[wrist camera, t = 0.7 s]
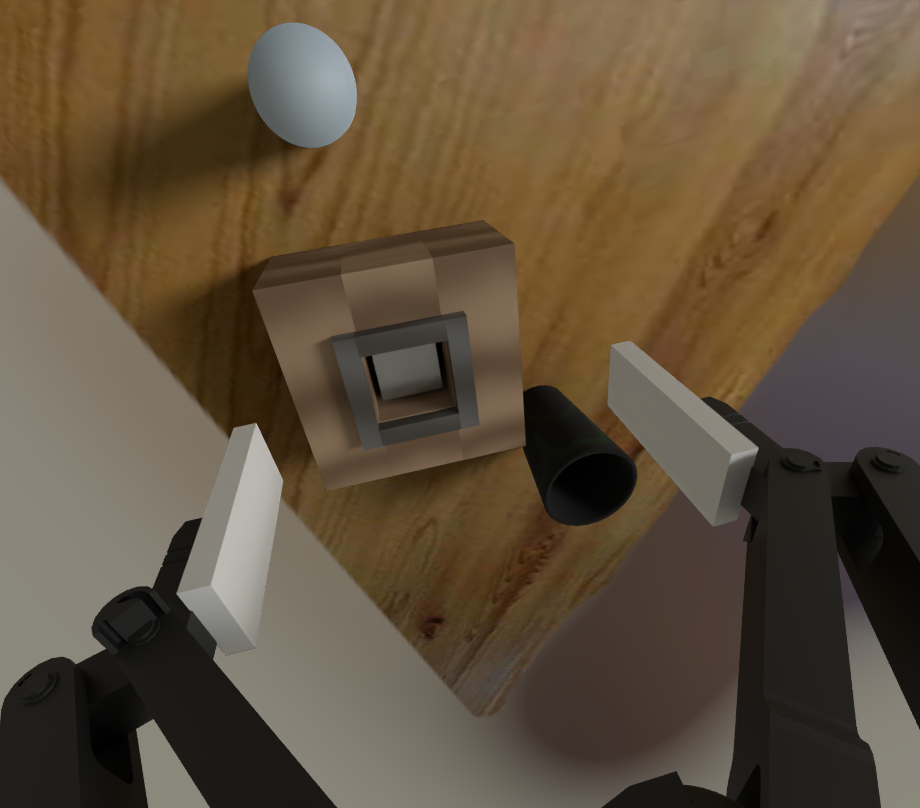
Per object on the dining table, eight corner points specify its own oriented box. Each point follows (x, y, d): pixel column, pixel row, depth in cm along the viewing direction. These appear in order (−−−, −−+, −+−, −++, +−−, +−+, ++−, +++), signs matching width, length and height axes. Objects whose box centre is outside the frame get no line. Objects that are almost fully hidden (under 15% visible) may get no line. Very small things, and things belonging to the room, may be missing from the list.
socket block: (271, 256, 34) (249, 296, 27) (483, 220, 36) (519, 247, 28) (330, 432, 43) (326, 499, 35) (499, 396, 44) (529, 453, 37)
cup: (506, 450, 48) (548, 537, 38) (495, 387, 44) (539, 466, 34) (577, 430, 48) (637, 510, 38) (573, 366, 44) (638, 437, 34)
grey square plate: (369, 340, 33) (369, 345, 33) (432, 328, 34) (433, 332, 33) (382, 395, 36) (383, 400, 35) (440, 383, 36) (442, 388, 36)
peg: (271, 60, 28) (228, 28, 18) (344, 51, 29) (343, 14, 19) (294, 144, 31) (268, 156, 21) (361, 134, 31) (368, 141, 21)
